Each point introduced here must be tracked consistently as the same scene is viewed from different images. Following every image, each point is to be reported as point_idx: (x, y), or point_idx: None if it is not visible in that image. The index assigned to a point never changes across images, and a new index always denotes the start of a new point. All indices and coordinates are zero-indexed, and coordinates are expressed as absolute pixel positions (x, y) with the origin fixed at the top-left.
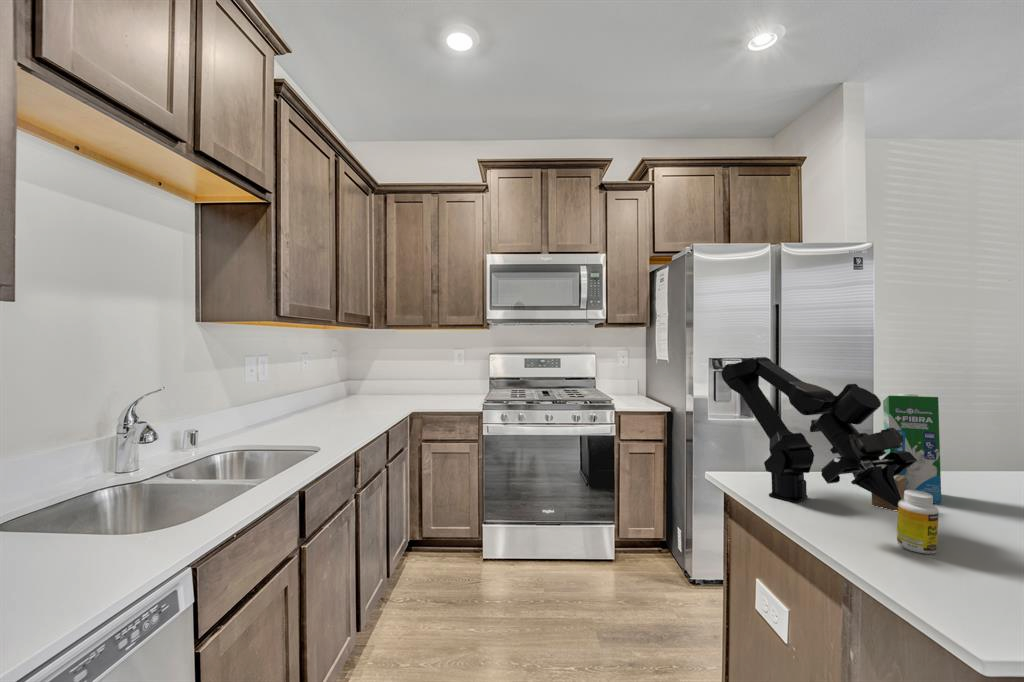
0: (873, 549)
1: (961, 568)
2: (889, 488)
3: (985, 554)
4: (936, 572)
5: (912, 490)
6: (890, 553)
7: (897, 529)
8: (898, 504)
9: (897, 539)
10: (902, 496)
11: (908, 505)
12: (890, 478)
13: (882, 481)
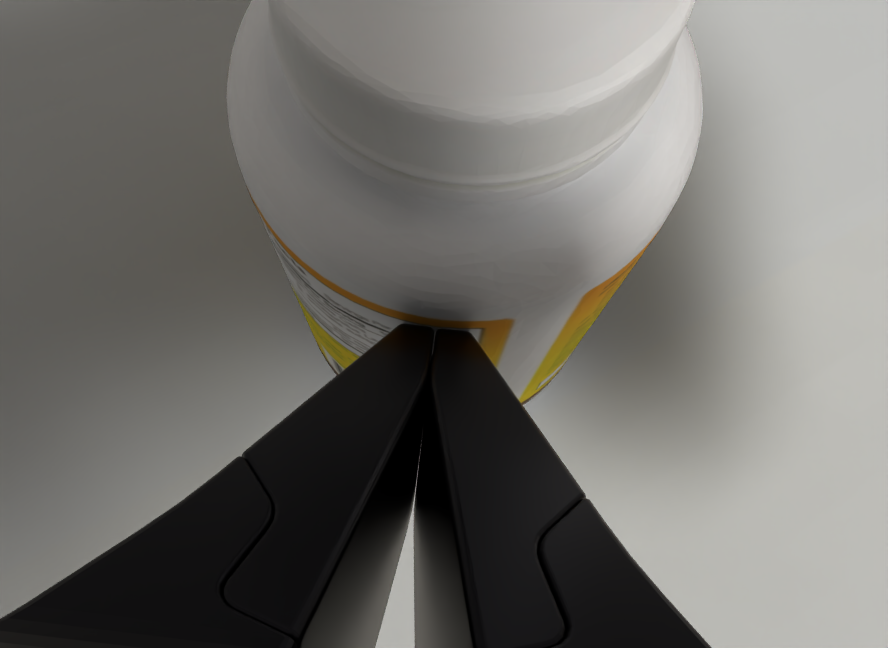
0: (804, 436)
1: None
2: (494, 475)
3: (84, 44)
4: (739, 37)
5: (408, 39)
6: (743, 332)
7: (552, 371)
8: (628, 262)
9: (544, 387)
10: None
11: (690, 74)
12: (201, 611)
13: (593, 618)
